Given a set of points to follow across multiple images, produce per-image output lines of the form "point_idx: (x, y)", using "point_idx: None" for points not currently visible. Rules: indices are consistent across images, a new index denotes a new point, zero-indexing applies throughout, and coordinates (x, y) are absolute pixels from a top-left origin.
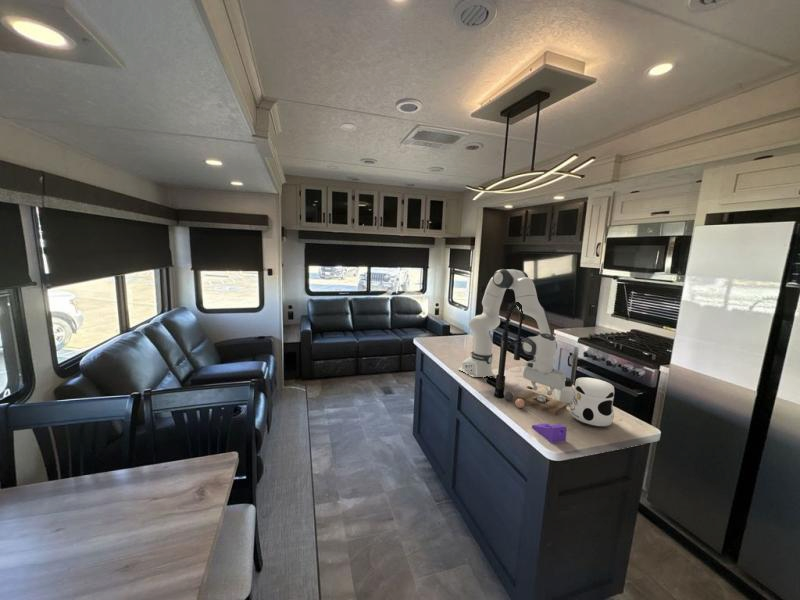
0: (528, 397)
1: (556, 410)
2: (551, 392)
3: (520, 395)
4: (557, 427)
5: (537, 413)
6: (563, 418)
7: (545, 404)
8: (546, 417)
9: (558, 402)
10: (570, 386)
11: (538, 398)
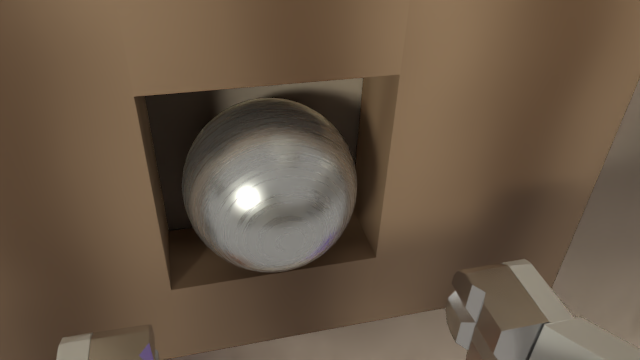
0: (73, 302)
1: (556, 274)
2: (553, 312)
3: None
4: None
5: (352, 343)
6: (595, 216)
7: (397, 264)
8: None
9: (551, 17)
10: None
11: (253, 270)
